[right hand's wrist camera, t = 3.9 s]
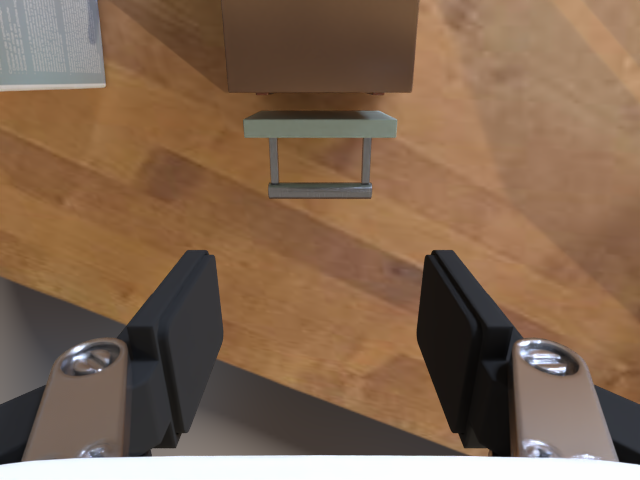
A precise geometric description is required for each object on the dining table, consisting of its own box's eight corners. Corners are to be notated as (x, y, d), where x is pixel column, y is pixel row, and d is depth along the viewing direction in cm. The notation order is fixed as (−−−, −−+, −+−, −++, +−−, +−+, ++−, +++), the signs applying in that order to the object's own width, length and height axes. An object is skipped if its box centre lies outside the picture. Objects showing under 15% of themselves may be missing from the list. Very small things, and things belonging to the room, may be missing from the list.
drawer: (375, 182, 36) (390, 210, 28) (264, 182, 36) (249, 209, 28) (394, -165, 27) (425, -265, 19) (245, -164, 27) (215, -265, 19)
